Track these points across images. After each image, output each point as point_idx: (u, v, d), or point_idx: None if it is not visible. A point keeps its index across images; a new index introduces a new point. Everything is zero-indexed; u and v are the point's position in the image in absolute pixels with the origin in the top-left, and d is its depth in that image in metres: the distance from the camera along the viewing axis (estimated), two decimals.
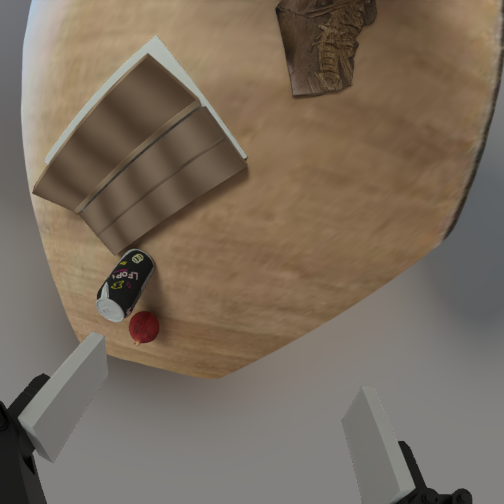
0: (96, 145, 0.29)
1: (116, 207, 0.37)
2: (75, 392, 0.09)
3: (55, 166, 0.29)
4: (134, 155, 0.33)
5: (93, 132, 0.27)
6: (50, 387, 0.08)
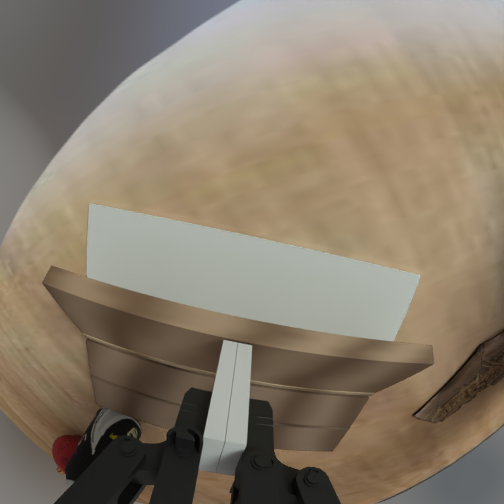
0: None
1: (157, 390, 0.22)
2: None
3: (137, 320, 0.15)
4: (254, 383, 0.21)
5: (267, 358, 0.16)
6: (218, 398, 0.10)
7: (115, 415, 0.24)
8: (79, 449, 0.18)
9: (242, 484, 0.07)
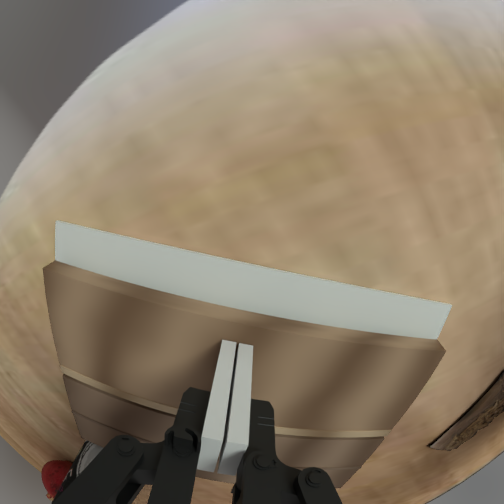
0: None
1: (145, 432, 0.18)
2: None
3: (138, 311, 0.14)
4: None
5: (275, 360, 0.15)
6: (217, 398, 0.10)
7: None
8: (65, 486, 0.14)
9: (244, 484, 0.07)
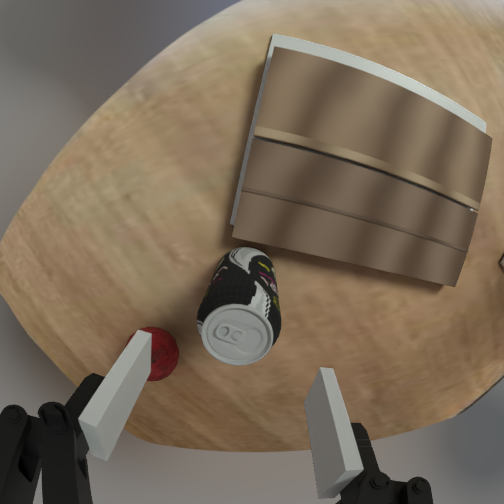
0: (403, 121, 0.22)
1: (323, 193, 0.24)
2: (128, 389, 0.10)
3: (348, 73, 0.21)
4: (408, 176, 0.24)
5: (418, 112, 0.21)
6: (107, 386, 0.09)
7: (253, 250, 0.26)
8: (225, 275, 0.20)
9: (358, 499, 0.06)
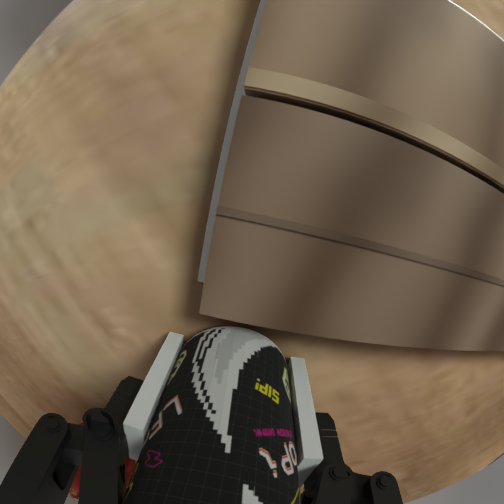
0: None
1: (397, 221, 0.11)
2: None
3: None
4: None
5: None
6: (148, 388, 0.10)
7: (246, 339, 0.12)
8: (170, 446, 0.07)
9: (318, 492, 0.06)
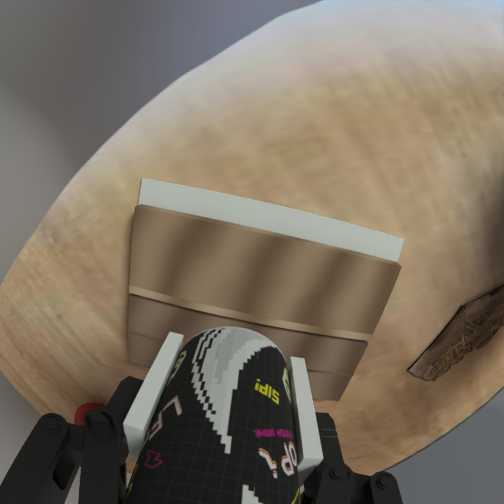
0: (270, 274, 0.26)
1: None
2: None
3: (206, 230, 0.25)
4: (274, 324, 0.28)
5: (290, 261, 0.25)
6: (148, 388, 0.10)
7: (246, 340, 0.12)
8: (170, 447, 0.06)
9: (318, 492, 0.07)
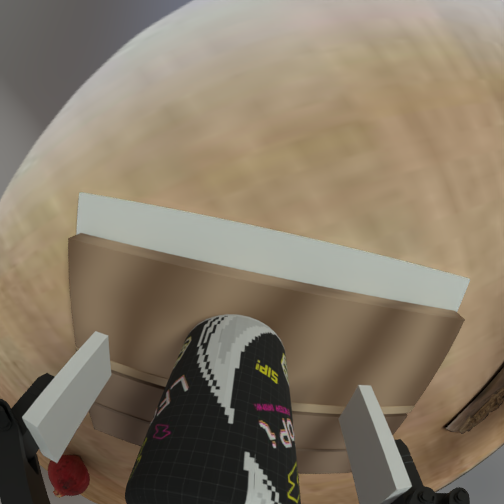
0: None
1: None
2: (79, 392, 0.09)
3: (174, 279, 0.15)
4: None
5: (311, 327, 0.15)
6: (54, 387, 0.08)
7: (247, 326, 0.13)
8: (177, 419, 0.08)
9: None
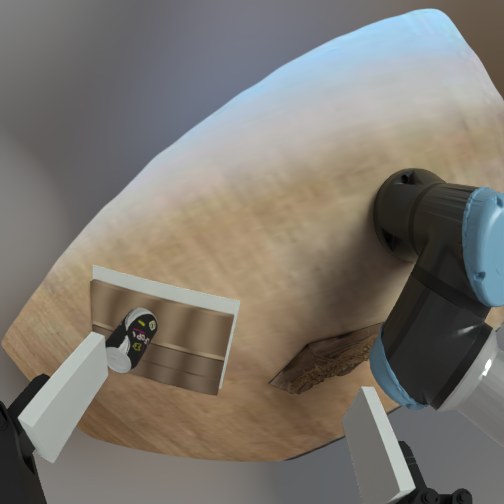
0: (157, 319, 0.45)
1: None
2: (75, 392, 0.09)
3: (124, 296, 0.44)
4: (165, 345, 0.47)
5: (165, 313, 0.45)
6: (50, 387, 0.08)
7: (142, 311, 0.43)
8: (116, 329, 0.37)
9: None
